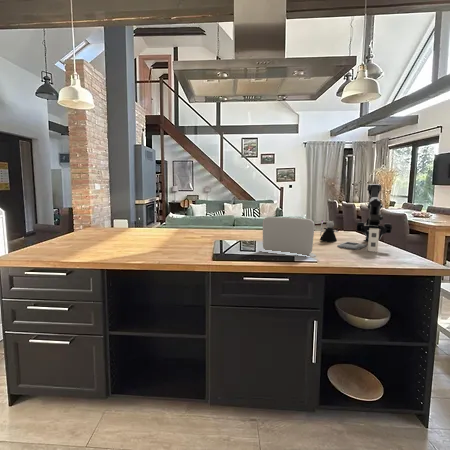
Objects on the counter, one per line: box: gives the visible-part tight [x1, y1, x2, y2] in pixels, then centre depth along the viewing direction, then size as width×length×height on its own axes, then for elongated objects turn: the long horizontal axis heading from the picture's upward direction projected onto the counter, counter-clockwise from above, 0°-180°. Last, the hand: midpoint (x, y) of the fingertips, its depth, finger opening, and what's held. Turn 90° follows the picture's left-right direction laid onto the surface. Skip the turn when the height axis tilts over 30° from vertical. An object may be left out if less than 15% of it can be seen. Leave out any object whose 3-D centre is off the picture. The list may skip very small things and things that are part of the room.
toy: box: [319, 220, 339, 243], centre depth 216 cm, size 12×7×15 cm, turn 84°
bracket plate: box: [337, 241, 368, 251], centre depth 201 cm, size 17×12×2 cm
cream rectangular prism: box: [367, 228, 380, 253], centre depth 189 cm, size 5×5×13 cm
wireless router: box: [262, 216, 317, 258], centre depth 178 cm, size 31×10×20 cm, turn 65°
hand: (373, 238), depth 188 cm, fingers open, 6 cm apart
